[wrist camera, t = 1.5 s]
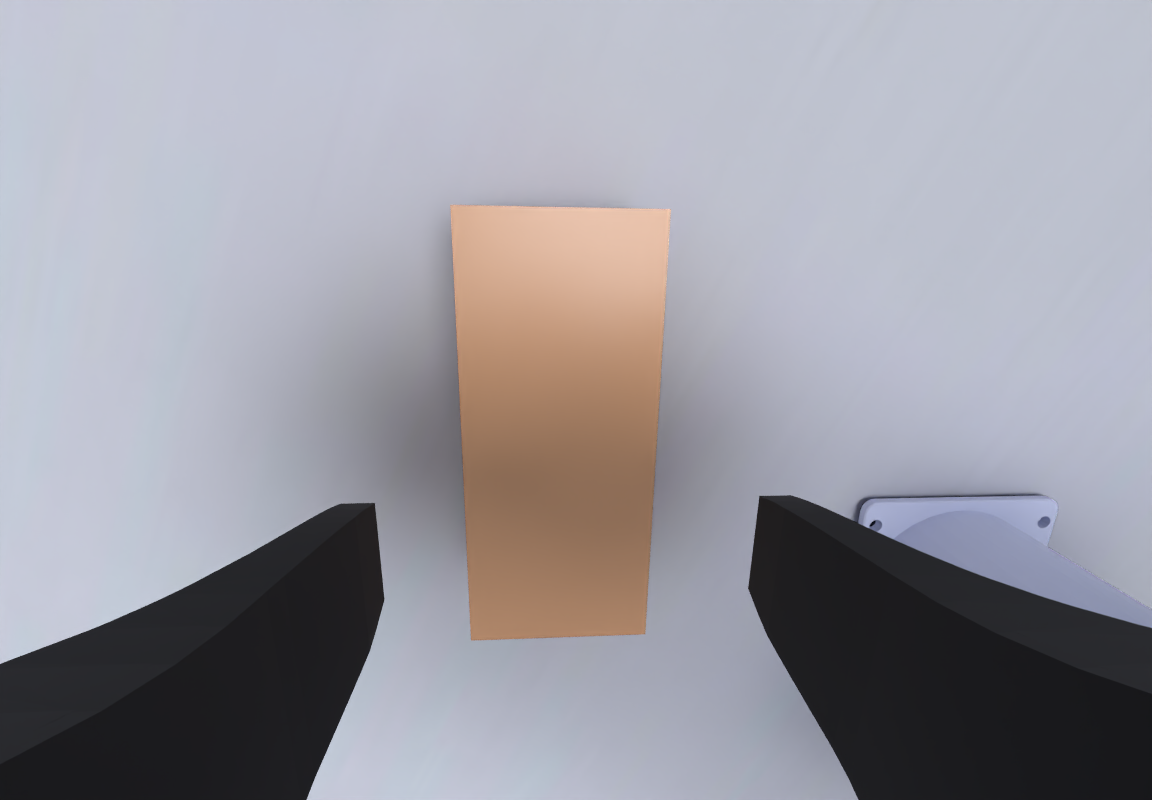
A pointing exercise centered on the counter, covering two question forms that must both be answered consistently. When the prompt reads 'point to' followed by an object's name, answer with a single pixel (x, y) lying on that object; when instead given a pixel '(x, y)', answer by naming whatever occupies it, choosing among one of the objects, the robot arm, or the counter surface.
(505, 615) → the tan rectangular plank
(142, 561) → the counter surface
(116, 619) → the robot arm
